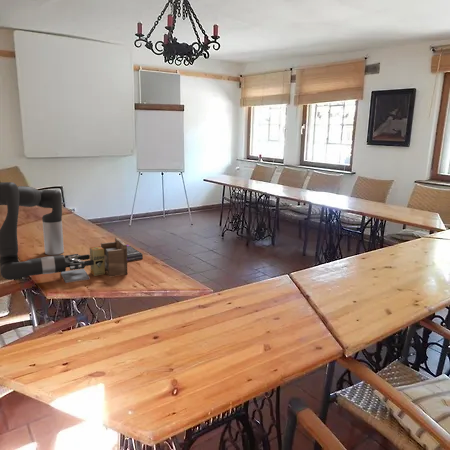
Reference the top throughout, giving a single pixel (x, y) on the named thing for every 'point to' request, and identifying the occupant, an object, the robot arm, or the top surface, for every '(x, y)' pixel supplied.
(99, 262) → the shoe polish box
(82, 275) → the rubber mat
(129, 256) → the box
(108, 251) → the offcut rack
